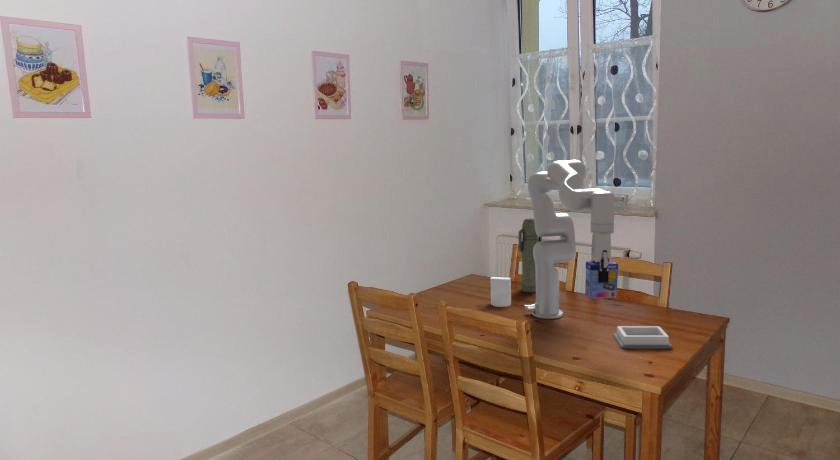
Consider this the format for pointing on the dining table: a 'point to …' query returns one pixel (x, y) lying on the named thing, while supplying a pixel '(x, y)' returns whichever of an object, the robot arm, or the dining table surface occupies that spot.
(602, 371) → the dining table surface
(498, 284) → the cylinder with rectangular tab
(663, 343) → the socket stand
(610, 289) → the ink cartridge box
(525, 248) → the thermos
